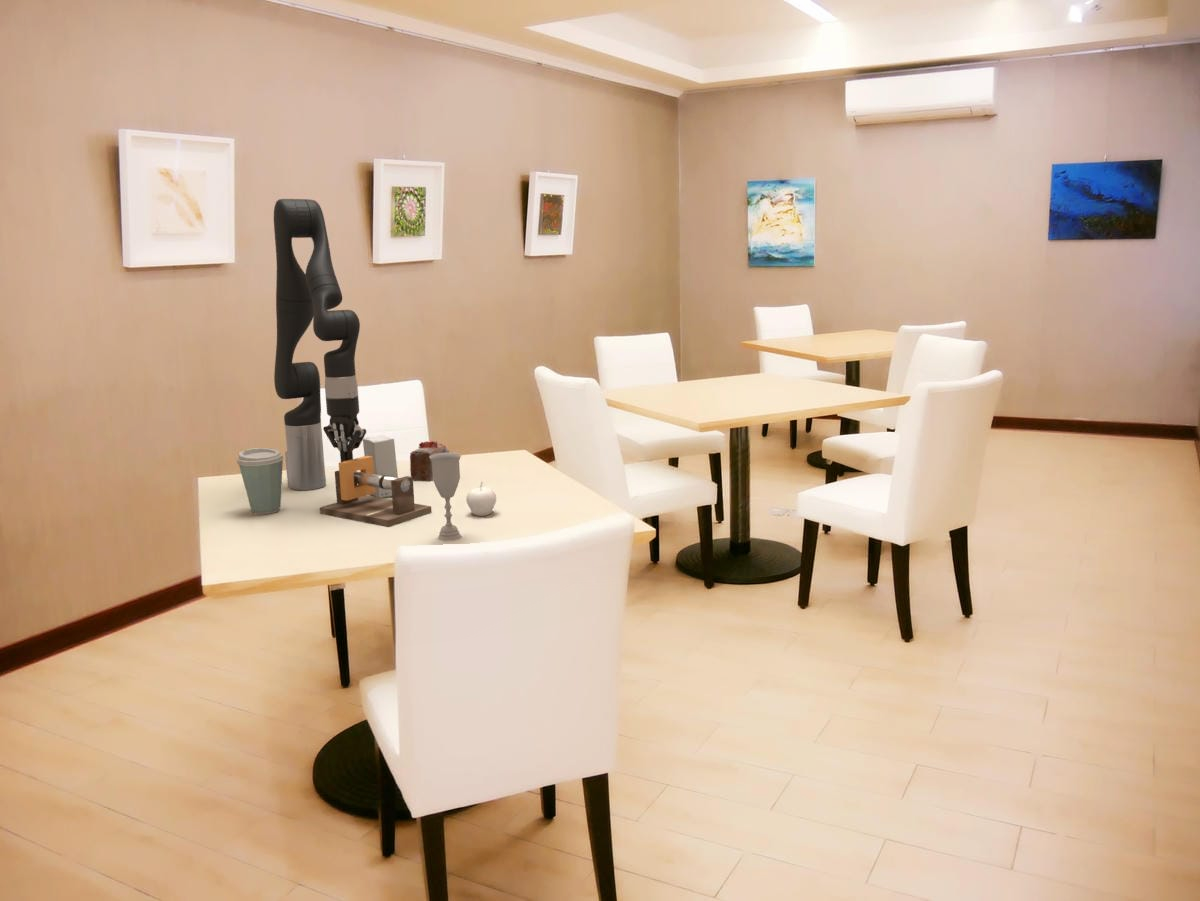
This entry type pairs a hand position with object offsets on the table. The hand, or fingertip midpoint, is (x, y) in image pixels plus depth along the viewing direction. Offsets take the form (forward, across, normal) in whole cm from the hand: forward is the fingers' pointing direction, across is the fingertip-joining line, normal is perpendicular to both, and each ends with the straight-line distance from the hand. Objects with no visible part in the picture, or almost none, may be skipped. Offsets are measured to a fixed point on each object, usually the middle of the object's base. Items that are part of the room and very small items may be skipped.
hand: (347, 465), depth 233 cm
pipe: (+4, +9, 0) cm, 10 cm away
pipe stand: (+11, +8, 0) cm, 14 cm away
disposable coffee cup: (+11, -16, -12) cm, 23 cm away
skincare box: (+11, -4, +14) cm, 18 cm away
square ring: (+7, +3, 0) cm, 8 cm away
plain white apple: (+11, +31, +12) cm, 35 cm away
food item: (+11, -8, +36) cm, 38 cm away
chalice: (+11, +38, -6) cm, 40 cm away
